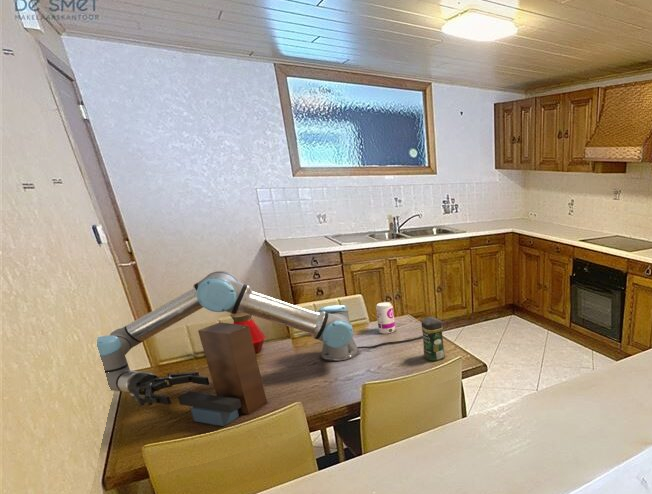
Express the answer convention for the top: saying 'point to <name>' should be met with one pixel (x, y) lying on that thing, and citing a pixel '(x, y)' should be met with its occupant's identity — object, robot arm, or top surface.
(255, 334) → the bottle
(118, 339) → the robot arm
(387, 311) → the supplement can
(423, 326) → the coffee jar
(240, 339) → the walnut post
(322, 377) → the top surface
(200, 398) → the back pad
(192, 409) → the base pad
